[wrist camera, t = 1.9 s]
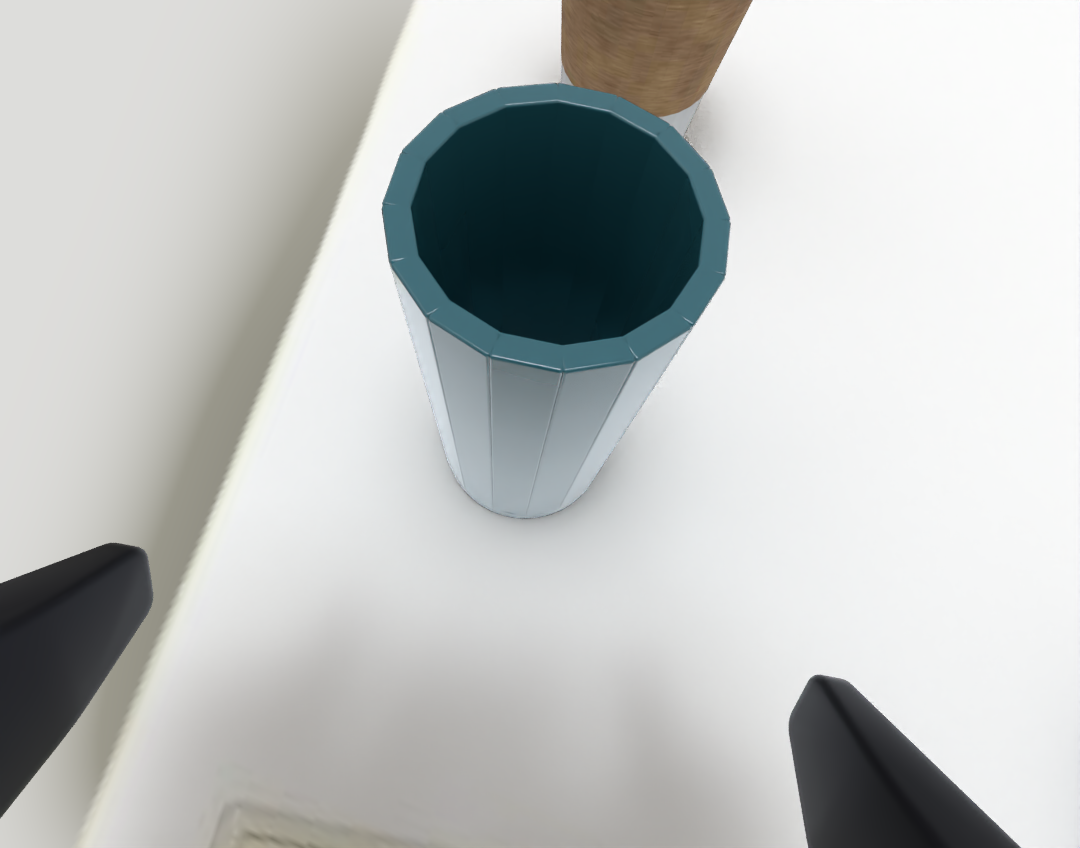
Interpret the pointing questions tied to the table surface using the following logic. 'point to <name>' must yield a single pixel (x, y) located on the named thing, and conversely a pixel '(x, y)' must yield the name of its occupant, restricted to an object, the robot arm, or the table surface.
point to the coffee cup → (649, 50)
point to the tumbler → (548, 279)
